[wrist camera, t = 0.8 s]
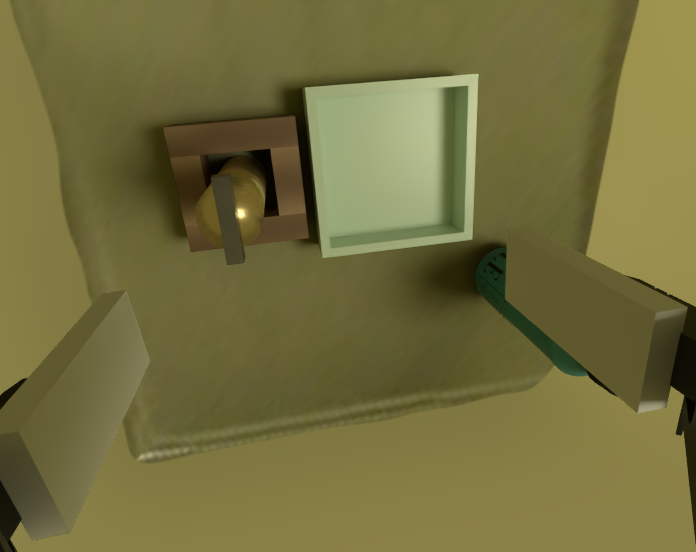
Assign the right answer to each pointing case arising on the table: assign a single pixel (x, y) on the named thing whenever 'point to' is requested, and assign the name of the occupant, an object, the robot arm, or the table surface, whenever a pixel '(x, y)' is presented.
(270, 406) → the table surface
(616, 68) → the table surface
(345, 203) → the tray
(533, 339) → the beverage bottle
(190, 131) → the block
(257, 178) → the amber rounded cylinder
